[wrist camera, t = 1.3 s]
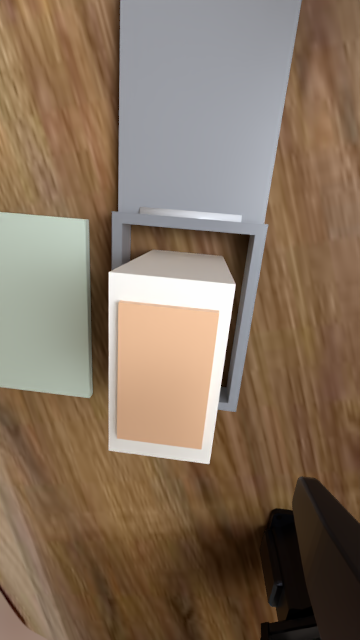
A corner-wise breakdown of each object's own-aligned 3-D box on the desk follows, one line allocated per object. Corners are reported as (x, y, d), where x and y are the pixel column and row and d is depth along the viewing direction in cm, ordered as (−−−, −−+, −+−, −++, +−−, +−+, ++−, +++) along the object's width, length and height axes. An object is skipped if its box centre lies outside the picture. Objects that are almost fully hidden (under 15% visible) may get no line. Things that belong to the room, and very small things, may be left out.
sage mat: (88, 219, 18) (85, 219, 18) (92, 393, 23) (89, 398, 22) (-30, 209, 19) (-37, 208, 18) (-5, 381, 23) (-10, 385, 23)
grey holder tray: (306, -47, 14) (322, -91, 12) (233, 395, 22) (235, 411, 20) (125, -53, 14) (112, -95, 12) (119, 381, 22) (111, 396, 20)
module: (222, 255, 18) (236, 286, 10) (208, 366, 21) (209, 469, 12) (153, 249, 19) (105, 273, 10) (147, 359, 21) (106, 455, 13)
